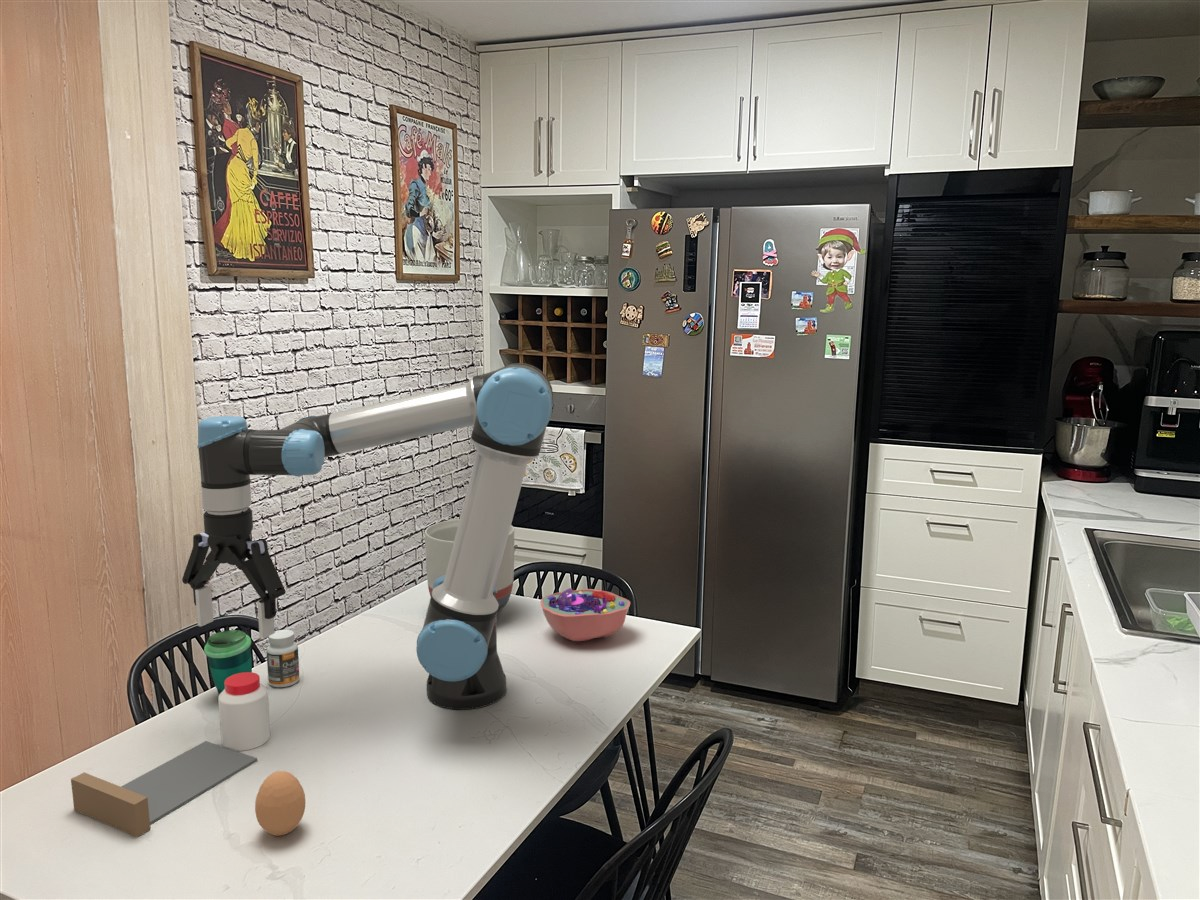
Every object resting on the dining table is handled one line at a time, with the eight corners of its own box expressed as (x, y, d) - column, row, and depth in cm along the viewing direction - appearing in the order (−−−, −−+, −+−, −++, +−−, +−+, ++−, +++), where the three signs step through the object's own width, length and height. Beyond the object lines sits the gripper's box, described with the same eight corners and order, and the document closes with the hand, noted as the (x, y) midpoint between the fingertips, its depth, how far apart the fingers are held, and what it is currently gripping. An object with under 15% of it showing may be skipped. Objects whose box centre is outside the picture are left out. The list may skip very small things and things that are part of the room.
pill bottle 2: (289, 689, 165) (286, 641, 163) (262, 687, 166) (259, 638, 164) (305, 677, 170) (302, 629, 168) (279, 674, 171) (276, 627, 169)
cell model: (630, 653, 183) (631, 603, 181) (536, 652, 183) (536, 601, 181) (629, 623, 199) (629, 576, 197) (543, 622, 200) (543, 575, 198)
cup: (264, 691, 164) (260, 632, 162) (230, 710, 156) (225, 648, 154) (233, 683, 167) (229, 625, 165) (198, 701, 160) (193, 640, 158)
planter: (414, 630, 194) (411, 539, 190) (444, 599, 214) (442, 516, 210) (501, 637, 191) (500, 544, 187) (524, 605, 210) (523, 520, 206)
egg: (250, 847, 118) (245, 786, 116) (266, 818, 125) (262, 760, 123) (299, 846, 118) (295, 785, 117) (312, 817, 125) (309, 759, 123)
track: (261, 761, 139) (259, 733, 139) (137, 837, 120) (134, 804, 119) (201, 741, 145) (199, 714, 145) (74, 810, 126) (70, 779, 125)
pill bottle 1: (230, 728, 150) (226, 669, 148) (276, 727, 151) (272, 668, 149) (214, 752, 142) (210, 690, 140) (262, 750, 143) (258, 688, 141)
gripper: (303, 511, 142) (309, 632, 146) (189, 497, 151) (198, 611, 155) (270, 522, 135) (278, 649, 139) (153, 506, 144) (163, 626, 148)
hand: (235, 629), depth 147 cm, fingers open, 13 cm apart
